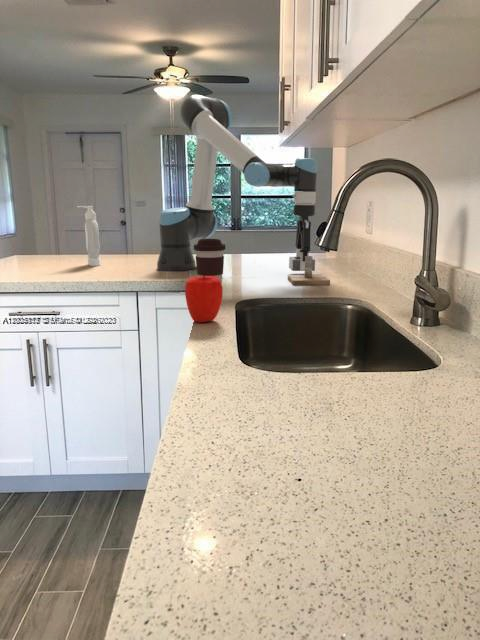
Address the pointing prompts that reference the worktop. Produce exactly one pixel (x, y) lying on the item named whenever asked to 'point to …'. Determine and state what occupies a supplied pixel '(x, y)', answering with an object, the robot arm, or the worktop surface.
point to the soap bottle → (92, 237)
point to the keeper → (308, 276)
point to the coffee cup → (210, 257)
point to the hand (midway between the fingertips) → (301, 268)
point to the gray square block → (298, 263)
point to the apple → (203, 297)
